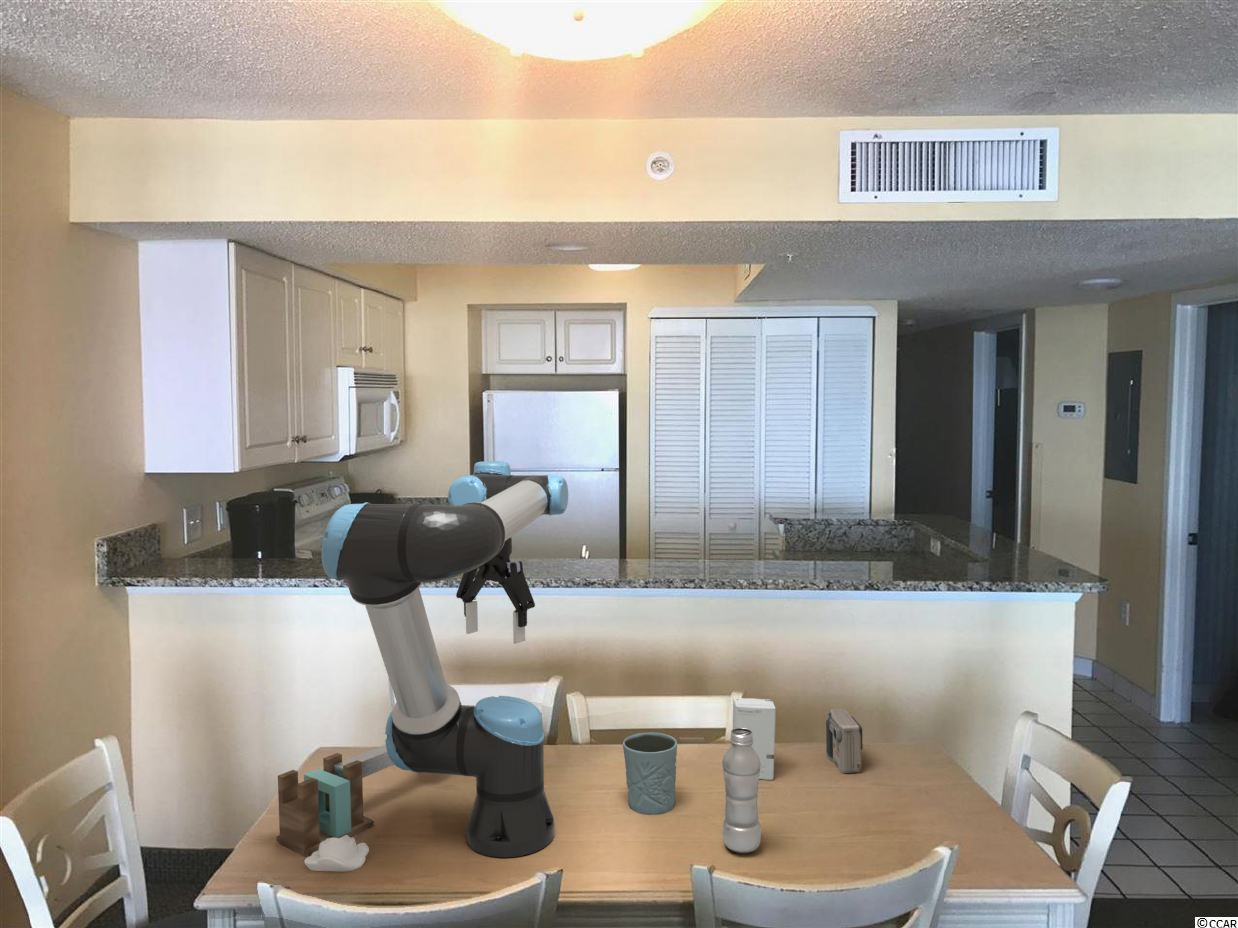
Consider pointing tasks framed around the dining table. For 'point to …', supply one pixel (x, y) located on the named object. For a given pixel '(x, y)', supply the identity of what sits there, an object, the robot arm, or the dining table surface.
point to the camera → (844, 741)
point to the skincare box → (758, 729)
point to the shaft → (368, 762)
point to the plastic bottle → (741, 793)
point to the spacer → (333, 803)
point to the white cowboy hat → (338, 855)
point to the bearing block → (315, 807)
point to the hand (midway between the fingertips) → (495, 637)
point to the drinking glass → (650, 772)
